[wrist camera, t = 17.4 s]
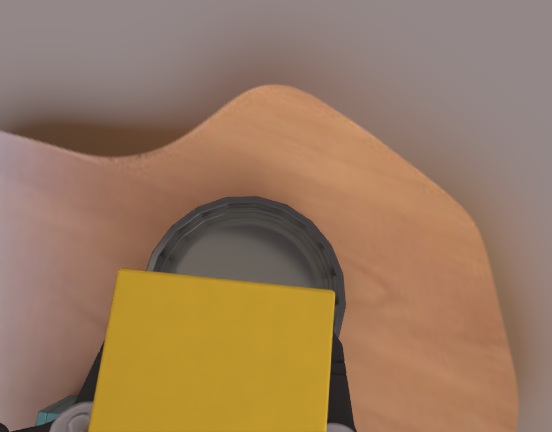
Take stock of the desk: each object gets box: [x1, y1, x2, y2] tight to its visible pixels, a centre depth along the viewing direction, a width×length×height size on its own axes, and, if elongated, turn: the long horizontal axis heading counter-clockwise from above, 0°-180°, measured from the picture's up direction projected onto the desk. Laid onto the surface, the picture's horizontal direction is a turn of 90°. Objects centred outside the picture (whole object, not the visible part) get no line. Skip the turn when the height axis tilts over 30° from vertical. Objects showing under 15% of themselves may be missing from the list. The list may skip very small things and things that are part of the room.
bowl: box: [146, 196, 346, 337], centre depth 27 cm, size 12×12×4 cm
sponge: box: [88, 268, 335, 432], centre depth 12 cm, size 4×6×10 cm, turn 174°
